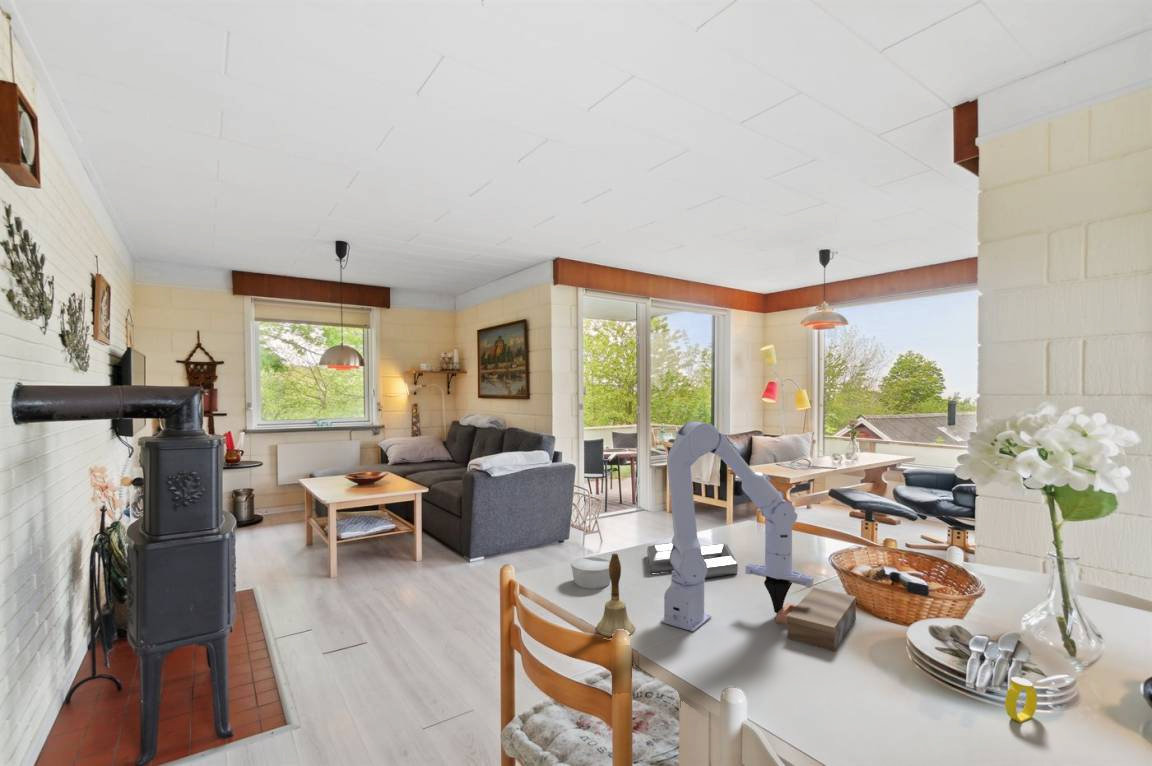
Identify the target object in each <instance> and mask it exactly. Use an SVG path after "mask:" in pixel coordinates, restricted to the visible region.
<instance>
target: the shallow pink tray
mask: <svg viewBox="0 0 1152 766" xmlns="http://www.w3.org/2000/svg"><path fill="white" fill-rule="evenodd" d="M797 605H798V604H794V603H790V602H786V603H785V605H783V608H782V609H781V610H780V611H779V612H778V613H776V614H775V623H776V624H778V625H782V626H785V627H787V616H788V615H789V613H790V612H791V611H792V610H793V609H794V608H795V607H796V606H797Z"/></svg>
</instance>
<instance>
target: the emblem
mask: <svg viewBox="0 0 1152 766" xmlns="http://www.w3.org/2000/svg"><path fill="white" fill-rule="evenodd" d="M700 547H701V550H702V556H703V559H704V560H705V561H706V563H707V567H708V571H707V575H706V577H705V578H704V579H708V578H709V579H710V578H716V577H723V576H728V575H729V576H730V575H736V574H738V569H739V568H738V567H739V566H738V565H739V564H738V562H737V560H736V559H735V556H734V555H733V552H732V550H731V549H730V548H729V546H728V544H726V543H719V544H709V545H700ZM671 549H672V542H667V543H666V542H665V543H659V544H658V543H657V544H652V545H648V546H647V548H646V555H647V561H648V567H649V566H650V567H649V570H650V571H651V572H650V571H649V572H650V574H651V573H660V574H662V573H661V572H668V573H671V572H670V571H673V570H674V567H673V566H672V565H671V563H670V559H669V556H670V552H671Z"/></svg>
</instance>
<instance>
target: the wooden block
mask: <svg viewBox="0 0 1152 766" xmlns="http://www.w3.org/2000/svg"><path fill="white" fill-rule="evenodd" d="M796 605H797V606H796V607H795V608H794V609H793V610H792V611H791V612H790V613H789V615H788V616H787V626H786V629H787V631H786V634H787V637H786V639H787V638H788V639H787V640H792V641H794V640H795V641H794V642H798V643H801V644H805V645H809V646H812V647H816V648H820V649H823V650H826V651H827V650H828V651H831V652H836V649H837V648H838V646H839V645H840V643H841V642H842V640H843V638H845V635H846V634H847V632H848V631H849V629H850V627H851V626H852V624H853V623H854V621H855V619H856V618H857V597H856V596H854V595H851V594H845V593H840V592H838V591H837V592H836V591H831V590H827V589H823V588H817V587H812V589H811V590H810V591H809V592H808V593H807V594H806V595H805V596H804V597H803V598H802V599H801V601H800V602H799V603H798V604H796Z"/></svg>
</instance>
